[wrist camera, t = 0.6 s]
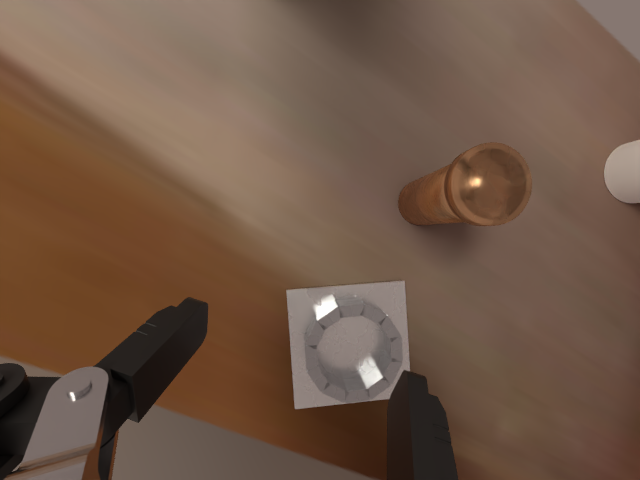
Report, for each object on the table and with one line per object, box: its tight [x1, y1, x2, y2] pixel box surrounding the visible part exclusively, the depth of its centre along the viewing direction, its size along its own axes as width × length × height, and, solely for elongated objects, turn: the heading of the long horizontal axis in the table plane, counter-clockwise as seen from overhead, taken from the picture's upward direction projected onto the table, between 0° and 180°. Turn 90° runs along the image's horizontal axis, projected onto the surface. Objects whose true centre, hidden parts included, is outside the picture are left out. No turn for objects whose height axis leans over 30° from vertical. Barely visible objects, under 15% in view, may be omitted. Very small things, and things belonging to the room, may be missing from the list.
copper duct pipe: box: [398, 142, 532, 226], centre depth 26 cm, size 6×6×12 cm
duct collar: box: [287, 280, 410, 409], centre depth 30 cm, size 13×13×3 cm
